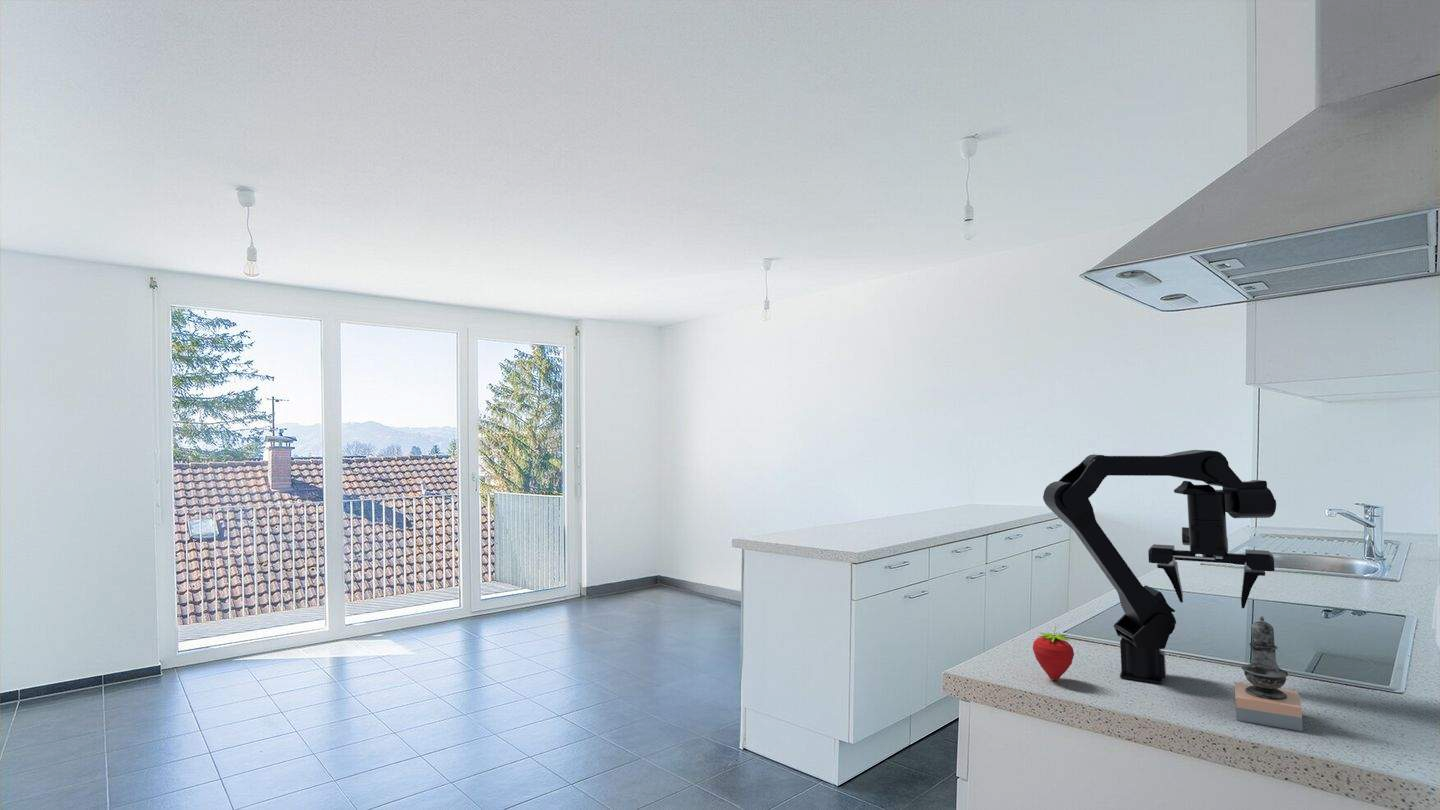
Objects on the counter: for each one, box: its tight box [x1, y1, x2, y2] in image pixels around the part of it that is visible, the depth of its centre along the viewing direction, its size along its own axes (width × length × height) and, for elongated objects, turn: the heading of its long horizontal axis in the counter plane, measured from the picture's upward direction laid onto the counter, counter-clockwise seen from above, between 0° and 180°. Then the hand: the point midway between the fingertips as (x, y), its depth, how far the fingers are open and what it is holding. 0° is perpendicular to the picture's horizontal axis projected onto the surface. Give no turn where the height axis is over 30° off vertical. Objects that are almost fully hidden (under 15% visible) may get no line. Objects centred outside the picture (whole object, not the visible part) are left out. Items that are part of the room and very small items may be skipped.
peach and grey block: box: [1234, 681, 1304, 732], centre depth 113 cm, size 8×8×4 cm
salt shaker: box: [1241, 615, 1289, 700], centre depth 113 cm, size 6×6×12 cm
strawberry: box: [1032, 625, 1075, 681], centre depth 131 cm, size 6×8×10 cm
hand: (1211, 604), depth 131 cm, fingers open, 9 cm apart
